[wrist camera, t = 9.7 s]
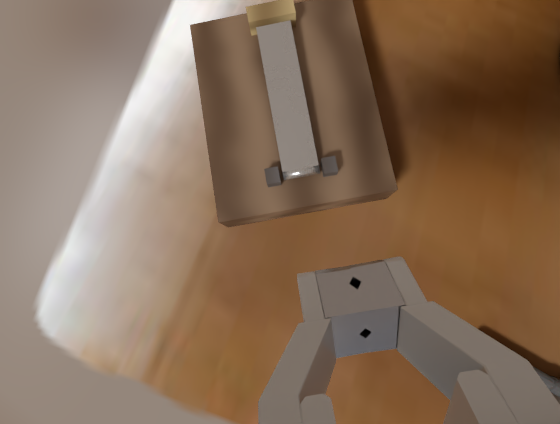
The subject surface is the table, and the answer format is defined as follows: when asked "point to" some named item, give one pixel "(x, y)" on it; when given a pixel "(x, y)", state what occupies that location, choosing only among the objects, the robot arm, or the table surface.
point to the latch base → (321, 107)
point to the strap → (287, 101)
